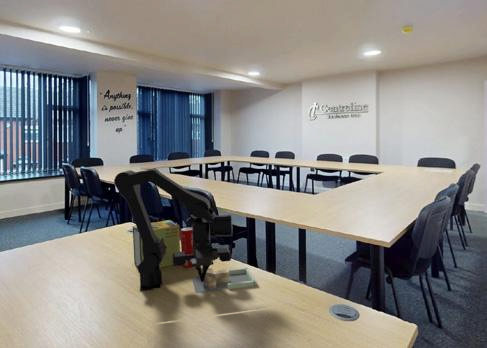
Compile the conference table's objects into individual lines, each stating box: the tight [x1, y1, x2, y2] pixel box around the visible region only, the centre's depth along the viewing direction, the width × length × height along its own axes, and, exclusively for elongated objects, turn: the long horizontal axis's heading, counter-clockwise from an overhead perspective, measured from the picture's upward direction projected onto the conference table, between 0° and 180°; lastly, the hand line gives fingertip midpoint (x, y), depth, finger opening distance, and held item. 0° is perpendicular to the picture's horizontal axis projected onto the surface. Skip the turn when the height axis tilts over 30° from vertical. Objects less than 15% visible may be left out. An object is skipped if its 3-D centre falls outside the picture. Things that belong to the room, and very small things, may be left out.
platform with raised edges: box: [192, 267, 258, 294], centre depth 113 cm, size 20×12×2 cm, turn 104°
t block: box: [205, 267, 229, 288], centre depth 112 cm, size 7×8×4 cm
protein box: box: [132, 219, 181, 269], centre depth 129 cm, size 10×15×16 cm
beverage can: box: [180, 226, 196, 270], centre depth 126 cm, size 6×6×15 cm
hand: (202, 281), depth 111 cm, fingers closed
